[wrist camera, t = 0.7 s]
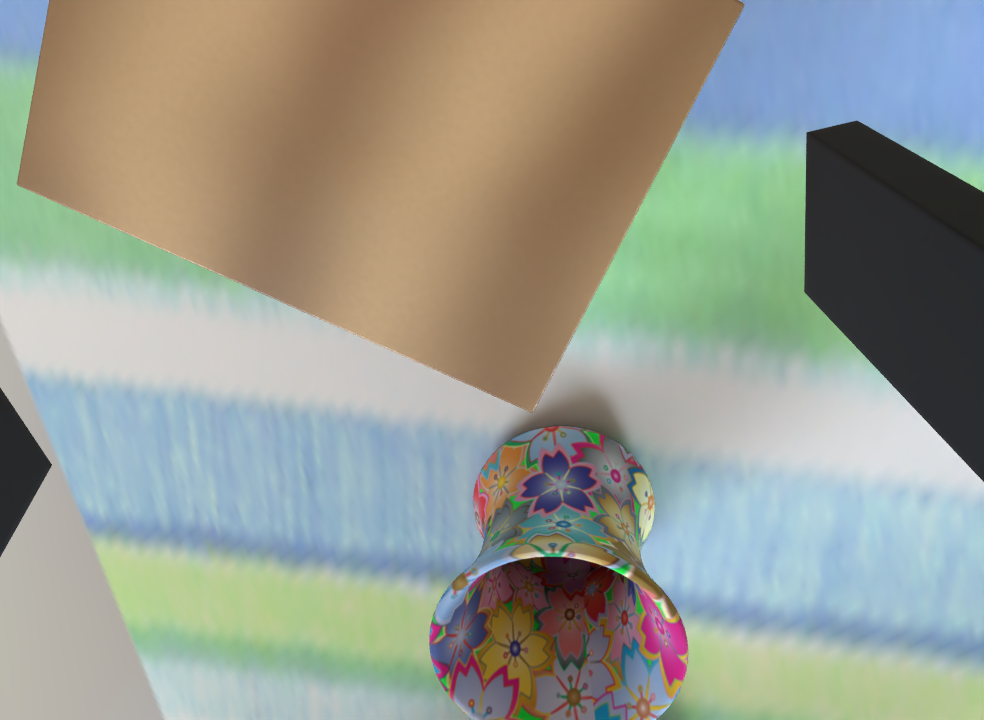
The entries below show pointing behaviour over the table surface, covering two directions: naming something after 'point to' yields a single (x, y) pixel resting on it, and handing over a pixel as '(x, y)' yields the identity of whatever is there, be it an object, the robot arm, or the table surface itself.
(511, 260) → the side table
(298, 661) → the table surface
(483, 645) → the mug
